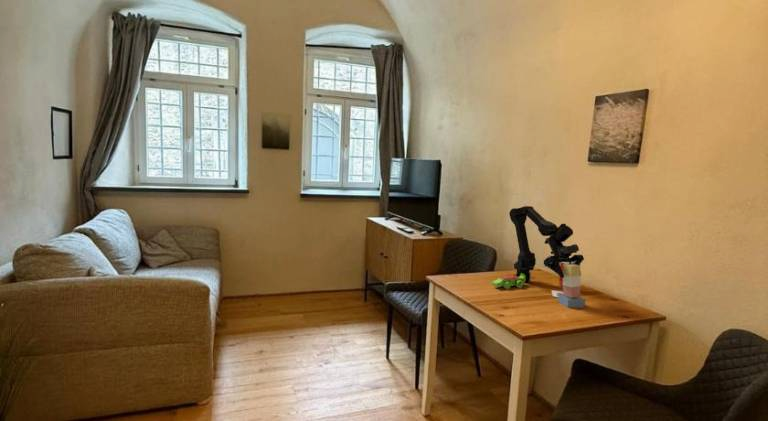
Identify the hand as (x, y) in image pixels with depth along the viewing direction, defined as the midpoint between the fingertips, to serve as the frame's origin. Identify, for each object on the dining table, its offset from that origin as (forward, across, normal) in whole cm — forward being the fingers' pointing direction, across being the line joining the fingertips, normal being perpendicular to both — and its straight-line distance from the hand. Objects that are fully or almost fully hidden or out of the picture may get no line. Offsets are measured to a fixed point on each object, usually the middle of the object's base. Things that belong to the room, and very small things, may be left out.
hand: (571, 277), depth 187 cm
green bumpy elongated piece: (-9, -13, +28) cm, 32 cm away
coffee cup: (-4, +14, +22) cm, 27 cm away
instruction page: (+2, +7, +15) cm, 17 cm away
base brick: (+10, 0, +8) cm, 13 cm away
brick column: (+7, 0, +5) cm, 8 cm away
